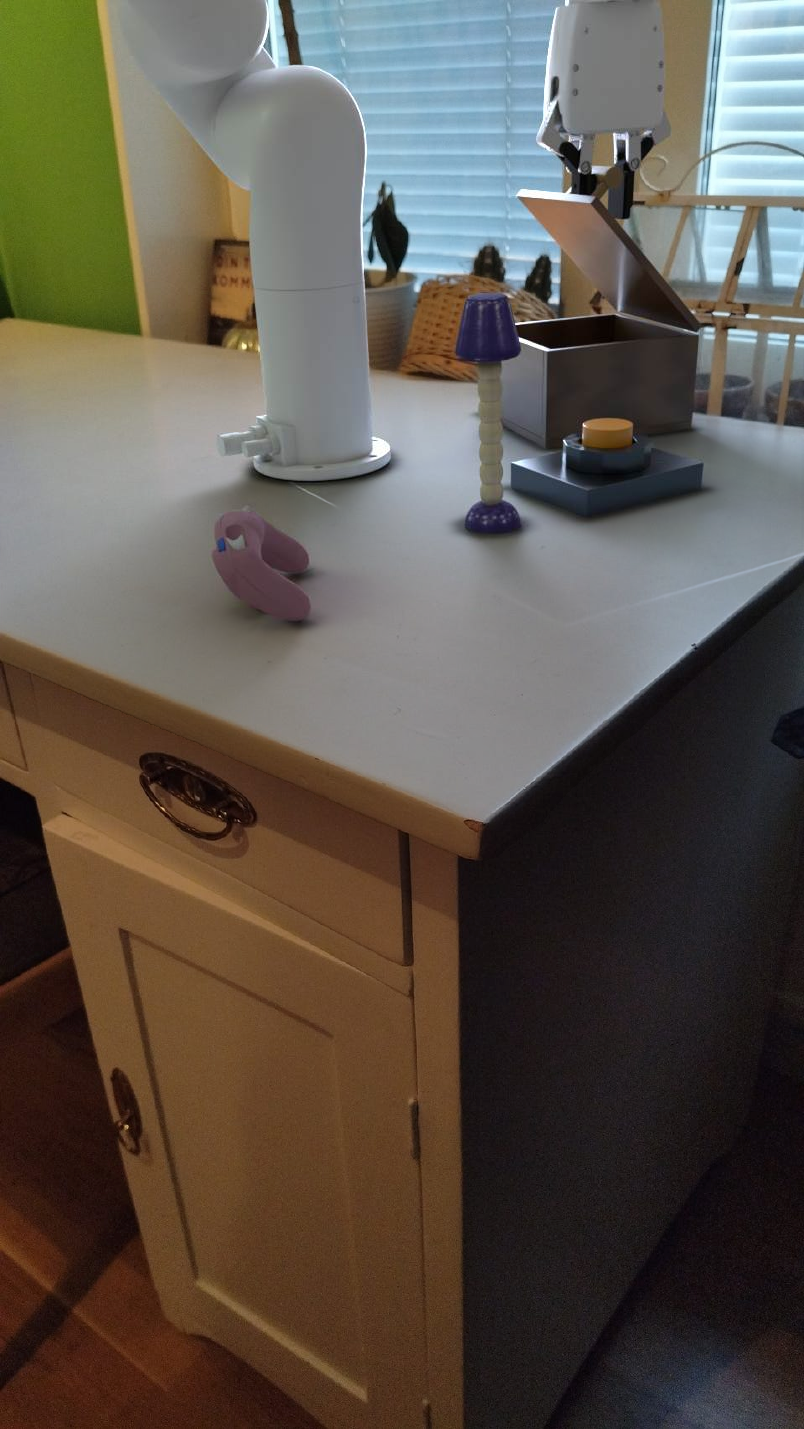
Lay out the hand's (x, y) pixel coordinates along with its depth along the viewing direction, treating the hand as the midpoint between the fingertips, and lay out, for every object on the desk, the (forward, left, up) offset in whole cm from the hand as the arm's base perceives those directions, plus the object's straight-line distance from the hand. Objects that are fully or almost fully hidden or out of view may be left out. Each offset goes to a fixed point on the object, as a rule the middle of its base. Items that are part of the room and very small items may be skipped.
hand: (601, 217), depth 103 cm
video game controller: (-47, -24, -19) cm, 56 cm away
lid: (0, 0, -4) cm, 4 cm away
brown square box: (-1, 0, -19) cm, 19 cm away
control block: (-14, -19, -19) cm, 30 cm away
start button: (-14, -19, -15) cm, 28 cm away
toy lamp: (-27, -21, -19) cm, 39 cm away
